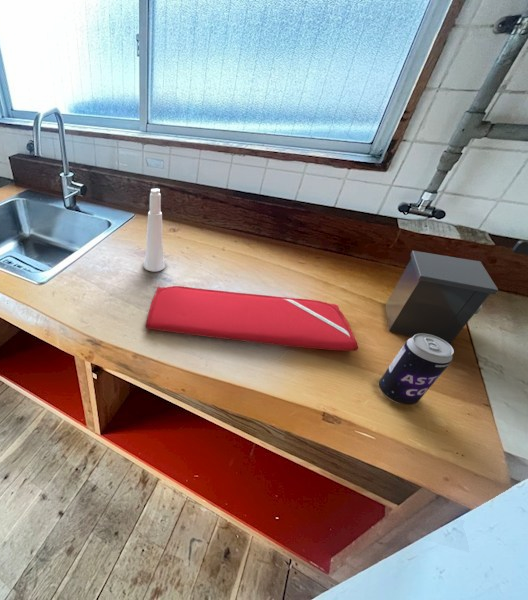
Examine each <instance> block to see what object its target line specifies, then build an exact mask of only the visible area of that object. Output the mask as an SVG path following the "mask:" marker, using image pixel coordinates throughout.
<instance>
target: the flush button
mask: <svg viewBox="0 0 528 600" xmlns="http://www.w3.org/2000/svg"><path fill="white" fill-rule="evenodd" d="M482 308H483V304H482V305H481V306H480V307H479V308H478V310H477V311H476V312H475V313H474V315H477V314H478V313H480V312H481V310H482Z"/></svg>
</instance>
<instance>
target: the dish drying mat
mask: <svg viewBox="0 0 528 600" xmlns="http://www.w3.org/2000/svg"><path fill="white" fill-rule="evenodd" d="M145 329H148V330H155V331H156V330H157V331H164V332H171V333H177V334H186V335H193V336H200V337H211V338H217V339H226V340H232V341H233V340H234V341H243V342H252V343H259V344H266V345H275V346H283V347H295V348H303V349H304V348H306V349H316V350H325V351H326V350H329V351H342V352H343V351H345V352H346V351H347V352H351V351H354V352H356V351H358V350H359V345H358V342H357V339H356V338H355V335H354V333H353V330H352V328H351V326H350V323H349V322H348V320H347V318H346V317H345V315H344V313H343V312H342V311H341V309H340V307H339V305H338V304H335V303H329V302H324V301H322V300H317V299H316V300H315V299H309V298H298V297H297V298H295V297H287V296H274V295H265V294H255V293H246V292H234V291H226V290H215V289H206V288H196V287H191V286H190V287H189V286H181V285H175V286H174V285H172V286H167V287H164V286H157V287H156V291H155V295H154V296H153V298H152V300H151V303H150V307H149V310H148V314H147V318H146V322H145Z"/></svg>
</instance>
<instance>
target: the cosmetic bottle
mask: <svg viewBox="0 0 528 600" xmlns="http://www.w3.org/2000/svg"><path fill="white" fill-rule="evenodd" d="M160 191H161V189H160V188H151V189H150V194H149V210H148V212H147V222H146V223H147V225H146V243H145V244H146V245H145V257H144V263H143V268H144V269H145V270H146V271H149V272H160V271H162V270H164V269H165V266H166V264H165V258H164V257H165V256H164V240H163V238H164V237H163V212H162V211H161V201H162V195H161V192H160Z"/></svg>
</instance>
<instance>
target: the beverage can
mask: <svg viewBox="0 0 528 600" xmlns="http://www.w3.org/2000/svg"><path fill="white" fill-rule="evenodd" d="M454 353H455V350H454V347H453V346H452V345H451V344H449V343H447V342H446V341H444V340H443V339H441V338H439V337H436V336H433V335H430V334H423V333H421V334H416V335H414V336H413V337H412V336H411V337H410V338H407V340H406V341H405V342H404V343H403V345H402V347H401V348H400V350H399V351H398V352H397V354H396V355H395V357H394V358H393V360H392V362H391V363H390V364H389V366H388V367H387V368H386V370H385V371H384V373H383V374H382V376H381V378H380V379H379V380H378V387H379V390H380V391H381V392H382V394H383V395H384V396H385V397H386V399H388V400H390V401H392V402H393V403H396V404H399V405H409V406H411V405H416V404H418V403H419V401H420V400H421V399H422V398H423V396H424V395H425V394H426V393H427V392H428V391H429V390H430V388H431V387H432V386H433V384H434V383H435V382H436V381H437V380H438V379H439V377H440V376H441V375H442V374H443V373H444V372H445V370H446V369H447V368H448V367H449V366H450V364H451V363H452V362H453V359H454V357H453V355H454Z"/></svg>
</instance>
